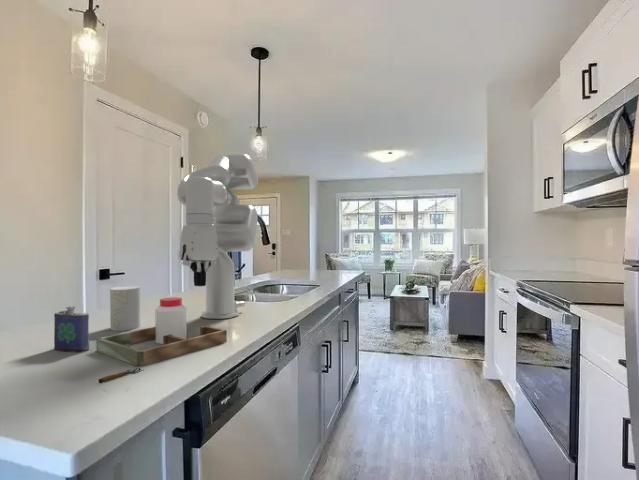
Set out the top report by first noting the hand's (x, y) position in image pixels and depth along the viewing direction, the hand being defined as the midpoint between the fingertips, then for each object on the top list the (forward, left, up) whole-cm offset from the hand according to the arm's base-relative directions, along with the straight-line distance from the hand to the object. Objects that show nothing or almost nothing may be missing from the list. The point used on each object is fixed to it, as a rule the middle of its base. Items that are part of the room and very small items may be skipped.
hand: (199, 285), depth 113 cm
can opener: (+31, +16, -14) cm, 37 cm away
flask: (+29, -13, -14) cm, 34 cm away
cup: (+9, -25, -14) cm, 29 cm away
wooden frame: (+14, +3, -14) cm, 19 cm away
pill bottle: (+9, 0, -14) cm, 16 cm away
